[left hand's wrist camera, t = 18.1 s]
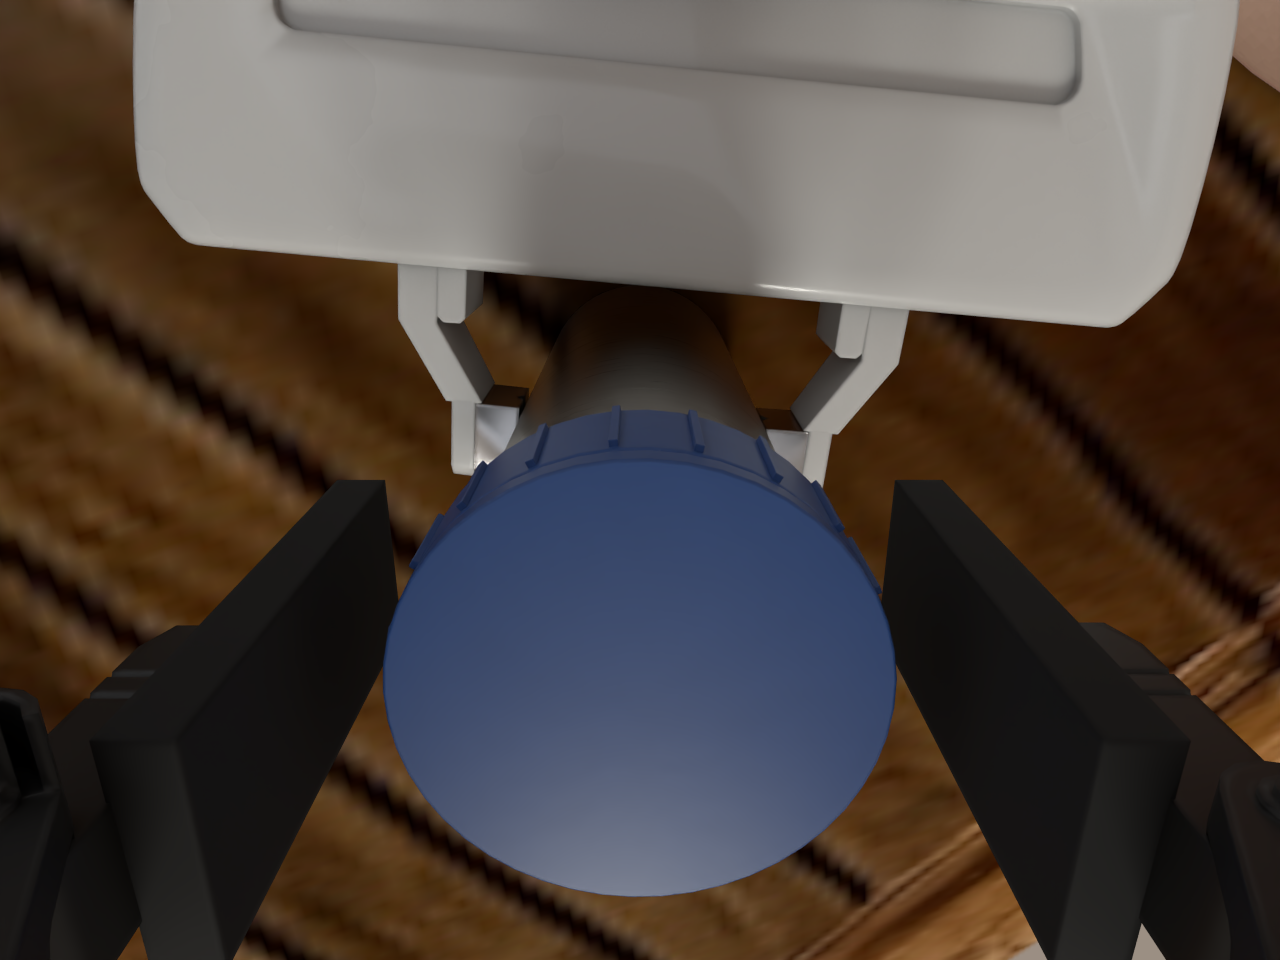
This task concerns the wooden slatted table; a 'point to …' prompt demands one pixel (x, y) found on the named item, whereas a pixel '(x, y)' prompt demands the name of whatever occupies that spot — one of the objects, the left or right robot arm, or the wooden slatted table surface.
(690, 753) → the lid
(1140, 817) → the left robot arm
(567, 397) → the jar
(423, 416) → the wooden slatted table surface
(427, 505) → the wooden slatted table surface
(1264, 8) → the anatomical model
